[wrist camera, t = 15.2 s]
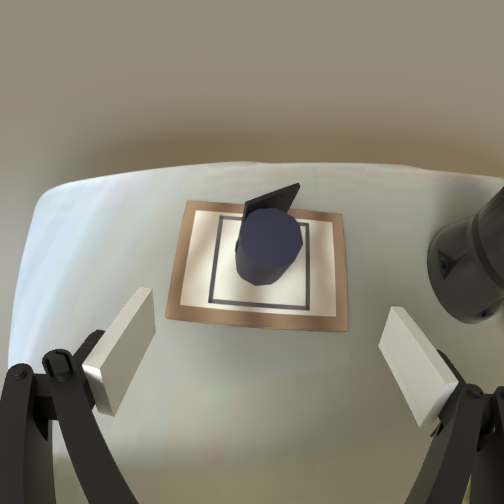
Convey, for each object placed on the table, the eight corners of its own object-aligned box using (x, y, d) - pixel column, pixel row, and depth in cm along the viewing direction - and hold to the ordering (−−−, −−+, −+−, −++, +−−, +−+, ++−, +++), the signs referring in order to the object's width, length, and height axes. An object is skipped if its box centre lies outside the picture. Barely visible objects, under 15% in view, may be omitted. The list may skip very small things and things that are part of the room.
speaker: (230, 228, 36) (235, 179, 26) (278, 226, 36) (299, 178, 27) (235, 291, 33) (242, 262, 23) (286, 288, 34) (313, 258, 24)
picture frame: (339, 218, 39) (342, 213, 38) (345, 331, 32) (349, 329, 31) (187, 205, 38) (186, 199, 37) (167, 318, 32) (164, 316, 31)
